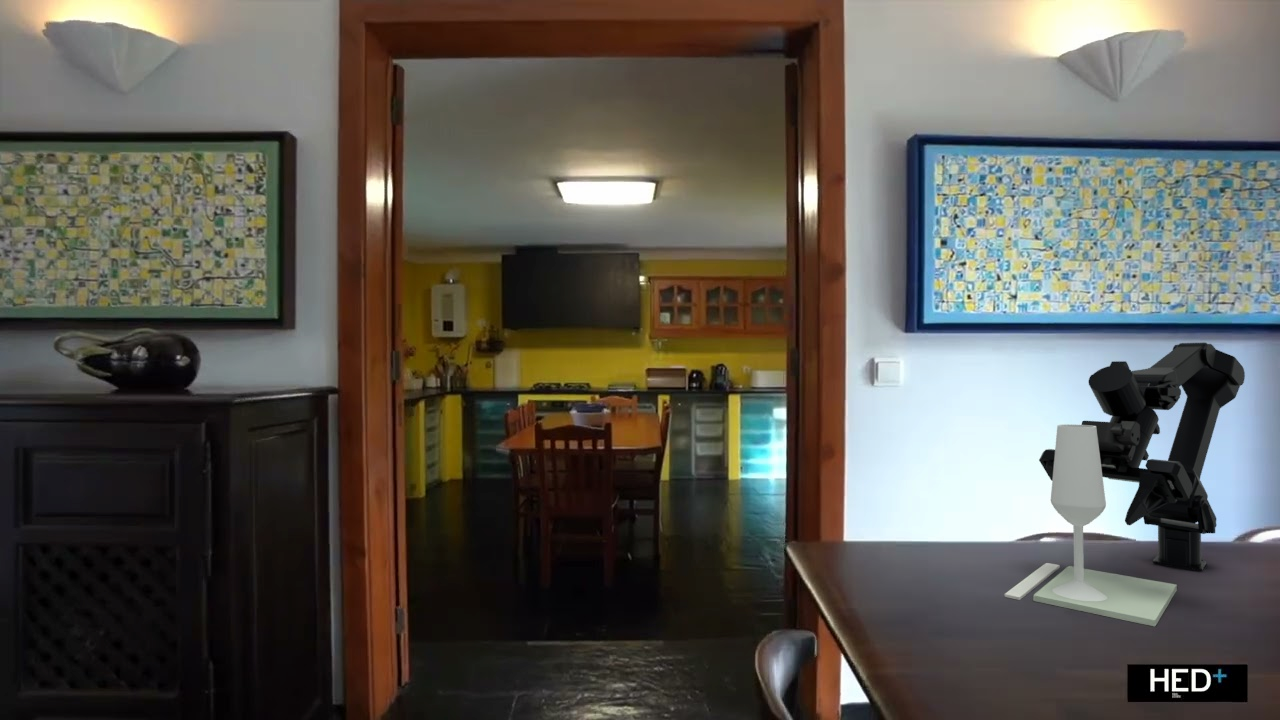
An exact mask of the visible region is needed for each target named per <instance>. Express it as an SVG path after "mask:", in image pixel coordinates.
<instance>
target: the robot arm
mask: <svg viewBox="0 0 1280 720" xmlns="http://www.w3.org/2000/svg"><path fill="white" fill-rule="evenodd" d="M1245 374H1246V373H1245V368H1244V367H1243V365H1242V364H1241V363H1240V362H1239V360H1238V359H1237V358H1236V357H1235V356H1234V355H1231V354H1229V353H1226V352H1224V351H1221V350H1218V349H1217V348H1216V347H1215V346H1214V345H1213V344H1211V343H1207V342H1180V343H1178V344H1174V346H1173V347H1172V350H1171V351H1170V352H1168V353H1167V354H1166V355H1165V356H1163V357H1162V358H1160V359H1159V360H1158V361H1156V363H1154V364H1153V365H1151V367H1148V368H1142V369H1137V370H1136V369H1135V370H1131V369H1130V366H1129V364H1128V362H1127V361H1126V360H1125V361H1124V360H1121V361H1120V360H1118V361H1117V360H1115V361H1111V362H1110V364H1109V365H1108V366H1105V367H1103V368H1100V369H1097V371H1095V372H1094V373H1093V374H1091V375H1090V376H1089V378H1088V386H1089V387H1090V390H1091V391H1092V393H1093V396H1095V399H1096V401H1097V403H1098V404H1099V406H1100V408H1101V410H1102V412H1103V413H1104V414H1106V415H1108V416H1111V418H1110V420H1109V421H1100V420H1099V421H1096V420H1083V421H1081V425H1091V426H1096V429H1097V437H1098V445H1099V453H1100V461H1101V469H1102V477H1103V478H1107V479H1109V480H1116V481H1123V482H1132V483H1138V488H1137V490H1136V492H1135V494H1134V497H1133V499H1132V501H1131V503H1130V505H1129V507H1128V509H1127V512H1126V515H1125V519H1124V521H1125V523H1126V525H1127V526H1131V525H1134V524H1135V523H1136V522H1138V521H1139V520H1141V519H1142V518H1143V522H1144V525H1151V526H1157V555H1156V556H1155V557H1154V558H1153V560H1152V563H1153V564H1155V565H1159V566H1160V565H1161V566H1166V567H1172V568H1178V569H1179V568H1180V569H1185V570H1192V571H1197V572H1203V571H1204V569H1205V566H1206V565H1207V561H1206V560H1204V559H1202V535H1205V534H1216V528H1217V516H1216V514H1215V512H1214V511H1213V508H1212V506H1211V504H1210V502H1209V500H1208V496H1209V495H1208V492H1207V491H1206V488H1205V487H1204V485H1203V483H1202V481H1201V476H1202V473H1203V472H1202V471H1203V469H1204V465H1205V462H1206V458H1207V454H1208V452H1209V451H1208V450H1209V448H1210V444H1211V441H1212V438H1213V434H1214V430H1215V427H1216V423H1217V419H1218V416H1219V412H1220V409H1221V408H1223V407H1225V406H1226V405H1227V404H1228V403H1230V402H1231V401H1233V400H1234V399H1235V398H1236V397H1237V395H1238V392H1239V390H1240V387H1241V386H1243V385H1244V383H1245V377H1246V375H1245ZM1180 387H1181V388H1180ZM1181 389H1182V390H1183V391H1184V394H1185V395H1186V400H1185V403H1184V407H1183V410H1182V413H1181V416H1180V419H1179V422H1178V426H1177V428H1176V433H1175V436H1174V439H1173V442H1172V446H1171V449H1170V452H1169V454H1168V455H1169V456H1168V459H1167V460H1166V459H1153V458H1151V459H1149V453H1148V451H1147V449H1148V446H1149V444H1150V441H1151V439H1152V436H1153V435H1160V434H1161V431H1160V430H1161V428H1160V425H1159V420H1160V419H1159V415H1158V414H1157V412H1156V411H1157V410H1159V411H1160V410H1161V411H1169V410H1171V409H1172V408H1174V406H1175V405H1176V404H1177V403H1178V401H1179V400H1180V398H1181V395H1182V390H1181ZM1155 410H1156V411H1155ZM1040 455H1041V456H1040V458H1039V459H1038V461H1039V462H1040V464H1041V466H1042V468H1043V469H1044V471H1045V472H1046V474H1047V476H1048V478H1049V479H1050V480H1051V481H1052V479H1053V468H1054V457H1055V449H1052V448H1048V449H1045V450H1044V451H1043V452H1042V453H1041V454H1040ZM1142 461H1146V463H1145V468H1142V467H1140V466H1141V463H1142Z"/></svg>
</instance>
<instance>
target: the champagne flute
mask: <svg viewBox="0 0 1280 720" xmlns="http://www.w3.org/2000/svg"><path fill="white" fill-rule="evenodd" d="M1055 436H1056V439H1055V446H1054V447H1055V449H1054V450H1055V457H1054V468H1053V479H1052V482H1051V491H1050V492H1051V493H1050V503H1051V505H1052V507H1053V508H1054V510H1055V511H1056V512H1057V513H1058V514H1059V515H1060V516H1061V517H1062V518H1063V519H1064V520H1065V521H1066V522H1068V523H1069V524H1070V525H1072V526H1073V567H1074V580H1072V581H1070V582H1067V583H1065V584H1062V585H1060V586H1058V587H1055V588H1053V589H1052V591H1053V592H1054V593H1055V594H1057V595H1060V596H1062V597H1066V598H1069V599H1074V600H1080V601H1091V602H1097V601H1104V600H1106V599H1107V596H1106V595H1104V594H1103V593H1101V592H1100V591H1098V590H1097V589H1095V588H1094V587H1092V586H1091V585H1089V584H1088V583H1086V582H1085V581H1084V569H1085V567H1084V527H1085V526H1087V525H1089V524H1090V523H1092V522H1093V521H1094V520H1096V519H1098V517H1100V516H1101V514H1102V513H1103V512H1104V510H1105V509H1106V506H1107V502H1106V496H1105V495H1106V493H1105V487H1104V486H1105V485H1104V477H1102V469H1101V461H1100V453H1099V445H1098V437H1097V429H1096V426H1091V425H1082V424H1057V427H1056V435H1055Z"/></svg>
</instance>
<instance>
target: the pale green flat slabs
mask: <svg viewBox="0 0 1280 720" xmlns="http://www.w3.org/2000/svg"><path fill="white" fill-rule="evenodd" d="M1060 567H1061V566H1060V564H1055V563H1049V562H1046V563H1044V564H1042V565H1041V566H1040V567H1039V568H1037V569H1036V570H1034V571H1033V572H1032V573H1031V574H1029V575H1028V576H1026V577H1025V578H1024V579H1022V580H1021V581H1020V582H1019V583H1017V584H1016V585H1015V586H1013V587H1012V588H1010V589H1009V590H1008V591H1007V592H1004V596H1003V597H1005V598H1007V599H1014V600H1018V601H1021V600H1022V599H1023V598H1024V597H1025V596H1027V595H1028V594H1029V593H1030V592H1032V591H1033V590H1034V589H1035V588H1037V587H1038V586H1039V585H1040V584H1042V583H1043V582H1044V581H1045V580H1046V579H1048V578H1049V577H1050V576H1052V575H1053V574H1054V573H1055V572H1056V571H1058V570H1059V569H1060ZM1072 580H1074V566H1072V565H1068V566H1066V567H1065V568H1064V569H1063V570H1062V571H1060V572H1059V573H1058V574H1057V575H1056V576H1054V577H1053V578H1052V579H1051V580H1049V582H1047V583H1046V584H1045V585H1044V586H1042V587H1041V588H1040V589H1039V590H1038V591H1036V592H1035V593H1034V594H1033V602H1037V603H1042V604H1047V605H1051V606H1056V607H1060V608H1065V609H1071V610H1073V611H1074V610H1075V611H1080V612H1084V613H1089V614H1095V615H1098V616H1104V617H1108V618H1112V619H1117V620H1121V621H1122V620H1123V621H1127V622H1131V623H1136V624H1140V625H1146V626H1150V627H1154V628H1155V627H1156V626H1157V624H1158V623H1159V621H1160V619H1161V618H1162V616H1163V614H1164V613H1165V610H1166V609H1167V607H1168V606H1169V604H1170V602H1171V600H1172V599H1173V597H1174V596H1175V594H1176V592H1177V591H1178V589H1177V588H1178V585H1177V584H1174V583H1169V582H1163V581H1157V580H1153V579H1146V578H1141V577H1140V578H1139V577H1135V576H1130V575H1129V576H1128V575H1123V574H1117V573H1113V572H1112V573H1111V572H1105V571H1099V570H1094V569H1088V568H1084V581H1085V582H1086V583H1088V584H1089V585H1091V586H1092V587H1094V588H1095V589H1097V590H1098V591H1100V592H1101V593H1103V594H1104V595H1106V596H1107V599H1106V600H1104V601H1097V602H1091V601H1080V600H1074V599H1069V598H1066V597H1062V596H1060V595H1057V594H1055V593H1054V592H1053V591H1052V589H1053V588H1055V587H1058V586H1060V585H1062V584H1065V583H1067V582H1070V581H1072Z"/></svg>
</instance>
